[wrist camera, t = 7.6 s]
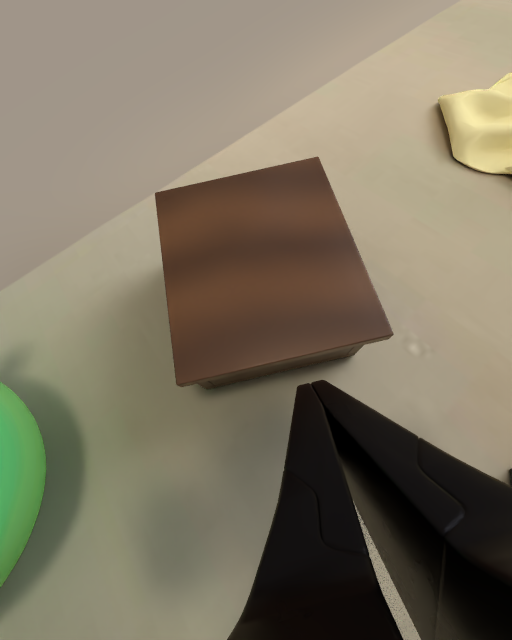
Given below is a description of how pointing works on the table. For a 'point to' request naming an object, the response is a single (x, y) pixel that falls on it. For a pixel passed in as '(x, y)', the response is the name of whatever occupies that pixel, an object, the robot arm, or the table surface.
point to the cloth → (481, 126)
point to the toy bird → (18, 477)
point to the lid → (262, 273)
